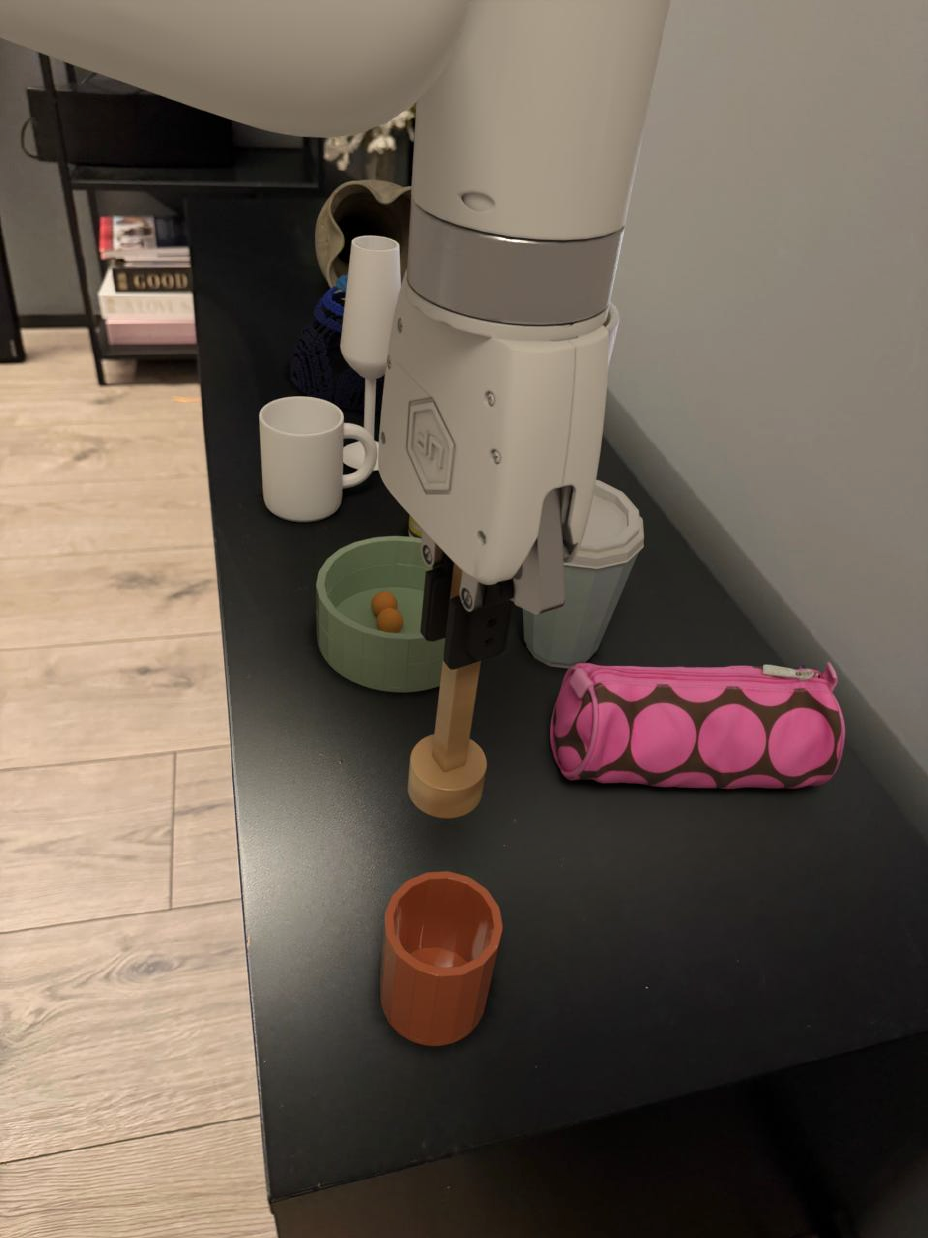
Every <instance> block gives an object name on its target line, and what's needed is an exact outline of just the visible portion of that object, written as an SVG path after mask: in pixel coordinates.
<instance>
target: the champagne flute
mask: <svg viewBox="0 0 928 1238" xmlns="http://www.w3.org/2000/svg"><path fill="white" fill-rule="evenodd" d="M400 288H401V278H400V252H399V243H398V242H396V241H395V240H392V239H390V238H386V237H381V236H361V237H357V238H354V239H353V240H352V243H351V253H350V262H349V271H348V280H347V289H346V298H345V301H344V303H345V308H344V317H342V322H343V326H342V335H341V338H340V343H339V344H340V347H339V348H340V353H341V355H342V356H343V359H344V360H345V362H346V363H347V364H348V366H351V367H352V368H353V369H354V370H355V372H357V373H358V374H359V375H360V376H362V377H364V378H363V379H364V382H365V385H364V392H365V411H363V412H364V413H363V414H364V415H363V417H364V418H363V428H364V429H366V430H367V431H368V432H369V433H370V434H371V435H372V437H373V438H374V439H375V424H376V423H375V418H376V416H375V415H376V411H375V397H376V392H377V388H376V383H377V379H381V378H383V377H384V376H385V371H386V363H387V356H388V349H389V342H390V336H391V330H392V324H393V318H394V314H395V309H396V305H397V300H398V296H399V292H400ZM375 443H376V447H377V461H376V465H375V467H374V469H373V471H372V472H375V471H379V469H378V448H379V441H377V440H375ZM364 458H365V450H364V447H363V445H362V443H361V442H360V441H358V440H357V441H355V442H352V443H349V444H346V445H345V446H343V464H345V465H346V466H348V467H350V468H353V469H356V470H359V468H360V467H361V466H362V464H363V462H364Z"/></svg>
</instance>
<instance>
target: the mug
mask: <svg viewBox="0 0 928 1238" xmlns="http://www.w3.org/2000/svg"><path fill="white" fill-rule="evenodd" d="M258 417H259V418H258V419H259V420H258V421H259V441H260V460H261V462H260V463H261V483H262V496H263V502H264V505H265V507H266V508H267V510H269V512H270V513H272V514H273V515H274V516H276V517H278V518H280V519H282V520H285V521H289V522H292V523H314V522H319V521H322V520H325V519H327V518H329V517H331V516H332V515H334V514H335V513H336V512H337V511H338V510H339V508H340V507H341V505H342V501H343V490H344V489H349V488H353V487H356V486H359V485H360V484H362V483H364V482H365V481H366V480H367V479H368V478H369V477H370V476H371V475H372V474H373V472H374V471H373V469H374V467H375V465H376V461H377V447H376V443H375V441H376V440H375V437H374V438H373V437H372V435H371V434H370V433H369V432H368V431H367V430H366V429H364V426H361V425H358V424H355V423H351V422H345V417H344V412H343V411H342V409H340V407H339V408H338V407H337V406H336V405H334V404H332V403H330V402H328V401H327V400H326V401H325V400H322V399H318V398H313V397H309V396H287V397H282V398H278V399H274V400H272V401H269V402H268V403H267V404H265V405H263V406H262V408H261V409H260V411H259V413H258ZM345 439H352V440H356V441H357V442H358V441H360V442H361V443H362V445H363V447H364V450H365V458H364V462H363V464H362V466H361V467H360V468H359V469H356V471H354V472H352V473H348V474H344V463H343V448H344V440H345Z"/></svg>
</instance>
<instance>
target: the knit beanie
mask: <svg viewBox="0 0 928 1238" xmlns="http://www.w3.org/2000/svg"><path fill="white" fill-rule="evenodd" d="M347 279H348V274H346V275H343V276H340V278H337V280H336V286H333V287H332V288H329V289H328V290H326V291H325V293H323V295H322V297H319V300H318V301H317V302H318V303H316V305H315V306H314V311H313V316H314V319H313V320H312V322H307V324H305V325H304V326H303V327H302V328H301V331H299V334H298V336H297V338H296V339H295V343H294V346H293V349H292V352H291V357H290V363H289V365H290V366H289V368H290V370H289V375H290V380H291V382H292V383H293V385H294V386H295V388H296V389H299V391H300V392H303V394H304V395H307V397H313V398H318V399H322V400H325V401H328V402H330V403H332V404H334V405H336V406H337V407H338V408H339V409H340V408H342V409H345V410H352V411H359V412H364V411H365V391H364V393H363V397H362V398H361V404H359V406H358V399H359V398H360V395H362V390H365V381H364V379H365V378H364V377H362V376H360V375H359V374H358V373H357V372H356V371H355V370H354V369H353V368H352V367H351V366H350V365H348V368H346V369H344V371H342V374H340V375H339V376H340V377H339V379H340V380H338V381H337V382H336V383H335V386H334V379H333V378H331V377H333V371H332V365H329V363H330V357H329V356H327V355H328V351H329V350H331V349H332V350H333V349H337V348H340V344H341V343H339V344H336V343H338V341H339V340H340V339H341V335H342V326H343V321H337V320H343V317H344V308H345V302H342V303H341V304H340V303H338V302H336V301H335V300H342V299H341V298H346V289H347V282H346V280H347ZM401 285H402V282H401ZM338 290H342V291H343V292H338V293H334V292H336V291H338ZM323 306H324V307H325V308H326V309H324V310H323V311H322V308H323ZM321 325H322V326H321ZM319 327H320V328H319ZM326 329H328V330H326ZM325 330H326V332H324V331H325ZM323 332H324V334H322V333H323ZM330 334H331V335H330ZM328 338H329V341H326V340H328ZM318 352H319V354H317V353H318ZM306 359H307V360H308V365H309V369H310V371H311V379H312V386H313V388H311V380H310V373H309V372H310V371H309V369H308V365H307V362H306ZM319 359H320V361H321V364H322V370H323V371H324V372H321V371H322V370H321V367H320V364H319ZM322 376H323V377H324V382H323V378H322ZM351 377H352V378H351ZM349 378H350V380H349ZM384 380H385V377H380V378H378V380H376V389H378V387H380V386H382V385H383V384H384ZM362 381H363V382H362ZM360 383H362V384H360ZM359 385H360V386H359ZM325 386H326V387H325ZM345 386H346V387H345ZM335 387H336V393H335ZM383 389H384V385H383V386H382V387H381V389H379V390H378V391H376V397H375V413H377V412H381V409H382V399H383ZM317 390H319V392H318V391H317ZM333 394H334V401H333ZM353 394H356V396H354V401H353V403H352V404H351V398H353Z"/></svg>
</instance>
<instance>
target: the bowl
mask: <svg viewBox="0 0 928 1238" xmlns="http://www.w3.org/2000/svg"><path fill="white" fill-rule="evenodd" d="M421 540H422V539H421V538H415V537H410V536H404V535H403V536H402V535H387V536H386V535H385V536H375V537H370V538H365V539H362V540H358V541H354V542H352V543H349V544H348V545H345V546H343V547H340V548H339V549H338V550H337V551H335V552H334V553H333V554H331V555H330V556H329V557H327V558H326V560H325V561H324V563H323V564H322V566H321V568H320V569H319V570H318V572H317V578H316V582H315V590H316V591H315V598H316V599H315V609H316V610H315V613H316V615H315V617H316V618H315V619H316V621H315V622H316V623H315V624H316V625H315V626H316V628H315V629H316V632H315V633H316V639H317V640H316V641H317V646H318V648H319V652H320V653H321V655H322V657H323V659H324V660H325V661H326V663H327V664H328V666H330V667H331V668H332V669H333V670H334V671H335V672H336V673H337V674H339V675H340V676H341V677H344V678H345V679H347V680H348V681H351V683H352V682H353V683H354V684H357V685H359V686H362V687H366V688H369V689H371V690H376V691H382V692H389V693H417V692H422V691H428V690H432V689H435V688H438V687H440V681H441V672H442V663H443V654H444V645H445V638H444V639H440V640H437V641H433V642H432V641H427V640H426V639H425V638H424V637H423V635H422V634H421V633H420V629H421V618H422V607H423V596H424V585H425V574H426V571H429V570H432V569H433V567H428V566H427V565H426V564H425V563H424V561H423V558H422V554H421ZM381 591H387V592H390V593H392V594H393V595H394V596H395V597H396V599H397V603H398V606H397V610H398V611H399V612H400V613H401V615H402V617H403V627H402V629H401V630H400V631H399V632H398V633H389V632H384V631H380V630H379V629H378V627H377V624H376V619H377V615H376V614H375V613H374V612H373V611H372V608H371V601H372V598H373V597H374V596H375V595H376V594H377V593H379V592H381Z"/></svg>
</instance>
